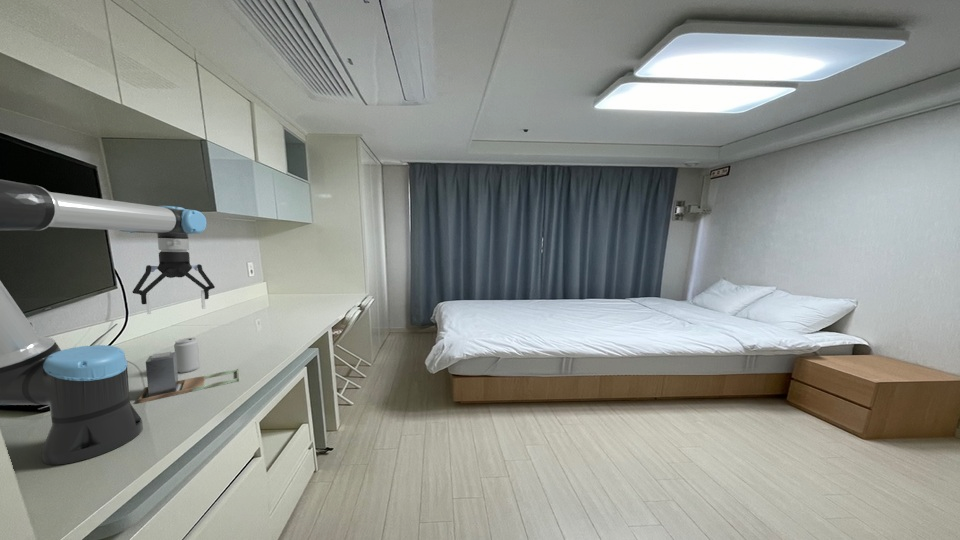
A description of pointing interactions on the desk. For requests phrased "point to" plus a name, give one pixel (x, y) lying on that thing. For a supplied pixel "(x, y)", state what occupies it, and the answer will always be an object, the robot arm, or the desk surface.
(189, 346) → the beverage can
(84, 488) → the desk surface
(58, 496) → the desk surface
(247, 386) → the desk surface
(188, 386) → the rail
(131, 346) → the desk surface
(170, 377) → the block
